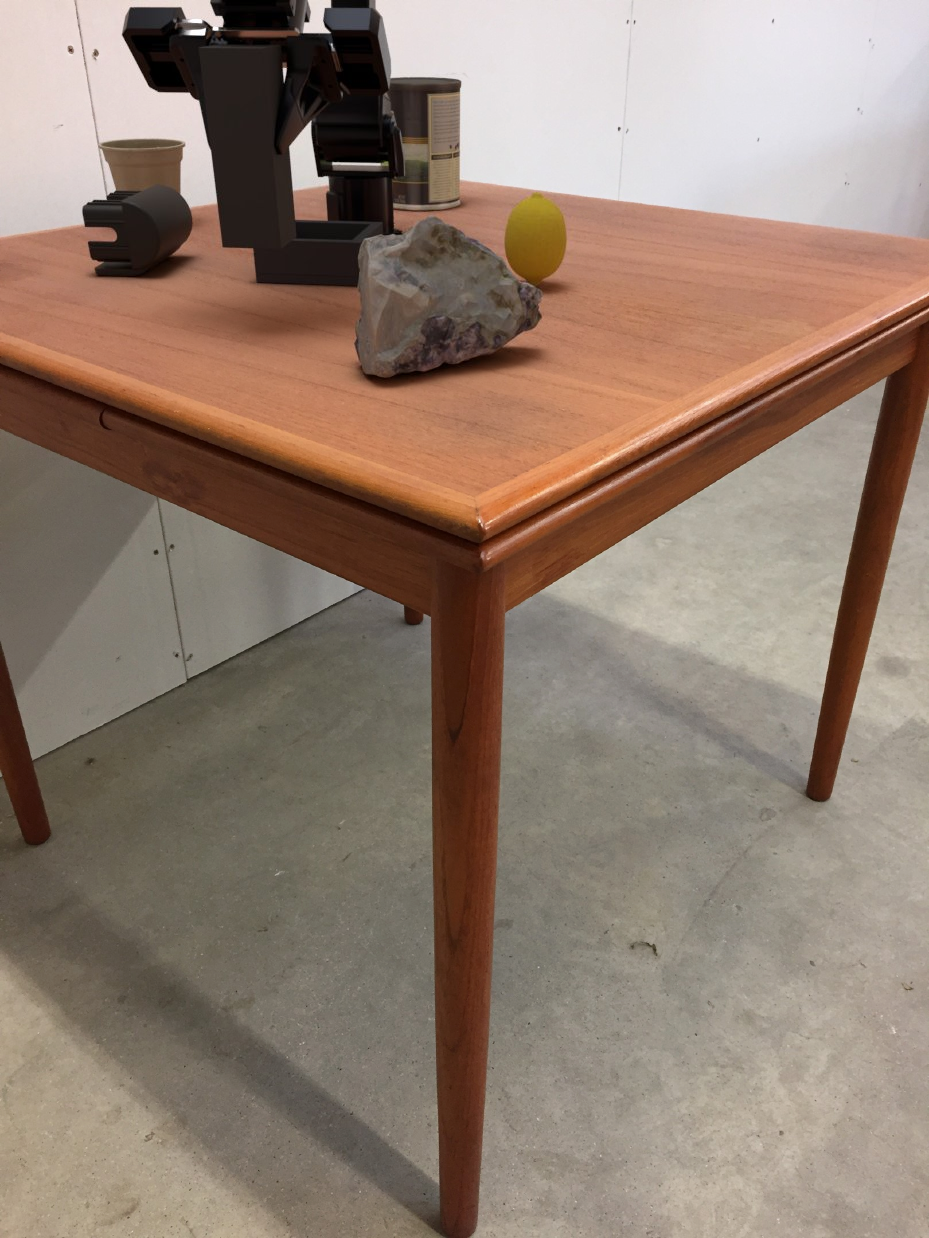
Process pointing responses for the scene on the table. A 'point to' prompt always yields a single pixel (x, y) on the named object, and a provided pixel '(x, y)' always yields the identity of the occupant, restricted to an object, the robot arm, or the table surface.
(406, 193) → the coffee can
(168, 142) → the flower pot
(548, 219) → the lemon
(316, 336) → the table surface
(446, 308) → the mineral rock
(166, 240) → the end cap
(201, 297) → the table surface
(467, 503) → the table surface
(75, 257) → the table surface
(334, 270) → the socket pad
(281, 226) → the pad block
